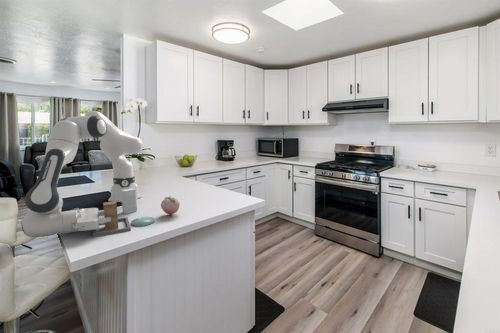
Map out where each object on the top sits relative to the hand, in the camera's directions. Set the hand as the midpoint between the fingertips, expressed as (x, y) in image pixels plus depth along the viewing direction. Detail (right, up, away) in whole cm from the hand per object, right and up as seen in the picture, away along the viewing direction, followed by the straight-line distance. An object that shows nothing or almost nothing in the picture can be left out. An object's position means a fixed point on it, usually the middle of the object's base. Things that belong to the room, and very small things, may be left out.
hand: (110, 215), depth 116 cm
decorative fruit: (+21, -3, +18) cm, 28 cm away
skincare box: (-2, -2, +23) cm, 23 cm away
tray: (0, -5, +1) cm, 5 cm away
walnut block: (0, -5, +1) cm, 5 cm away
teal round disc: (+12, -4, +7) cm, 14 cm away
